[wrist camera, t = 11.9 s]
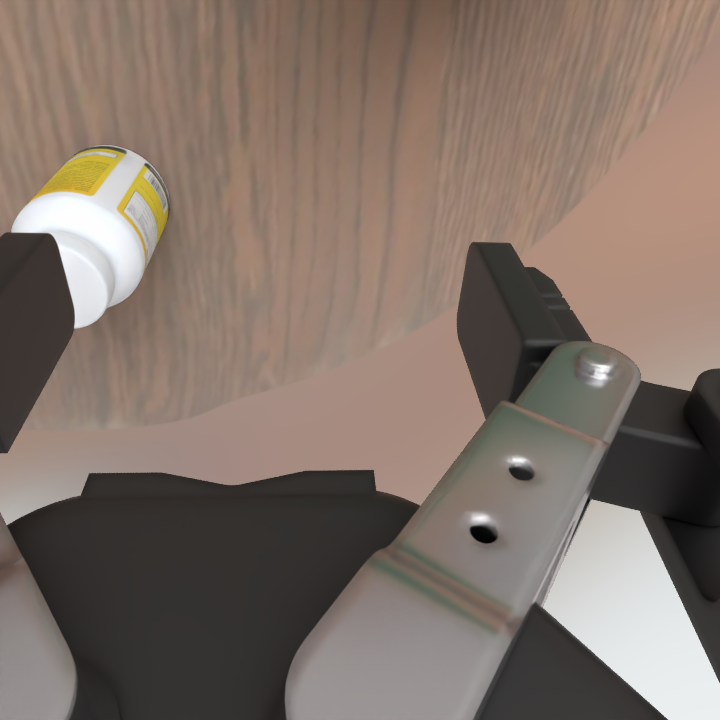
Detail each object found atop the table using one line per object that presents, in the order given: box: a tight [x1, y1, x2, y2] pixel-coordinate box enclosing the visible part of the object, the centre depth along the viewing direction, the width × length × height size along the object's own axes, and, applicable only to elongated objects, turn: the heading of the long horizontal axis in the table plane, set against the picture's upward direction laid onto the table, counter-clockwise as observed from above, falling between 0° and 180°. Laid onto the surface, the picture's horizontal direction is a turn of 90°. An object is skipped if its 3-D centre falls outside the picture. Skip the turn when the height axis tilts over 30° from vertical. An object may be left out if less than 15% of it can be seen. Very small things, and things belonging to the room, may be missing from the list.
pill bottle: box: [11, 145, 170, 329], centre depth 33 cm, size 6×6×12 cm
